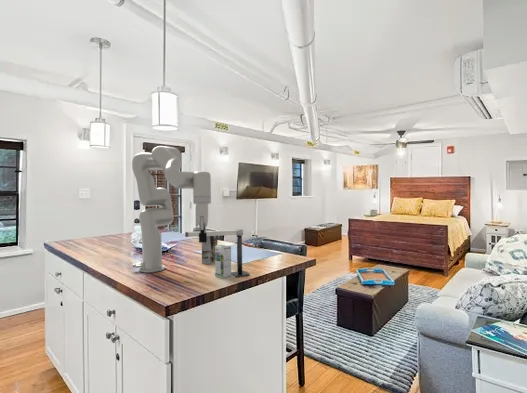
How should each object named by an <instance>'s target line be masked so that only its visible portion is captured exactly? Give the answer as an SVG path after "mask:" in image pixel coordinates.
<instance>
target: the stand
mask: <svg viewBox="0 0 527 393" xmlns="http://www.w3.org/2000/svg"><path fill="white" fill-rule="evenodd" d="M236 267H237V269H236V271H231V276H233V277H234V278H243V277H248V276H250V273H249V272H247V271H245V270H243V235H236Z"/></svg>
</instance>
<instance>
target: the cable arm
mask: <svg viewBox="0 0 527 393" xmlns="http://www.w3.org/2000/svg"><path fill="white" fill-rule="evenodd" d="M206 233H207V236H217V237H218V236H237V235H242V236H243V235H244V229H231V230H230V229H228V230H226V229H225V230H206ZM184 235H185V238H189V237H190V238H191V237H193V238H194V237H195V238H196V237H199V230H198V231H185V234H184Z"/></svg>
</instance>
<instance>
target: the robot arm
mask: <svg viewBox="0 0 527 393" xmlns="http://www.w3.org/2000/svg"><path fill="white" fill-rule="evenodd" d="M181 160H182V154H181V151H180V150H179V149H178V148H176V147H171V146H163V145H158V146H156V147H154V148H153V149H152V150H151V153H150V152H139V153H137V154H135V155H134V156H133V157H132V162H131V169H132V172H133V175H134V177H135V179H136V184H137V186H136V187H137V192H138V199H139V202H140V204H141V205H142V206H144V207H153V208H146V209H143V210H141V212H139V215H138V216H139V217H138V219H139V224H140V229H141V252H142V253H141V254H142V257H141V258H142V260H141V261H140V262H138V263H132V268H133V269H134V268H135V269H137V268H138V270H139V272H141V273H157V272H162V271H164V270H165V269H166V265H164V264H163V257H162V256H163V254H162V252H163V250H162V247H163V246H162V245H163V244H162V232H160V230H159V228H158V227H162V226H168V225H171V224H172V223H173V221H174V217H175V216H174V208H173V203H172V196H171V194H170V192H169V190H168V189H167V188H165V187H156V185H155V178H154V177H153V175H152V174H151V173H150V171H149V170H151V171H164V172H163V173H164V177H165V180H166V182H168V184H170V186H172V187H174V188H175V189H179V190H182V189H185V190H186V189H189V190H190V189H192V195H193V198H192V201H193V202H192V203H193V204H194V205H195V227H196V228H198V229H199V230H198V231H199V236H198V243H201V244H202V243H204V242H207V233H206V231H207V227H208V222H209V204H212V196H211V195H212V191H211V190H212V189H211V188H212V184H211V182H212V180H211V173H210V172H209V171H180V169H181V168H182V161H181ZM157 206H158V207H157Z"/></svg>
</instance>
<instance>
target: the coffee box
mask: <svg viewBox="0 0 527 393" xmlns="http://www.w3.org/2000/svg"><path fill="white" fill-rule="evenodd" d="M217 245H218V236H207V242H204V243H201V264H203V265H213V264H215V246H217Z"/></svg>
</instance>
